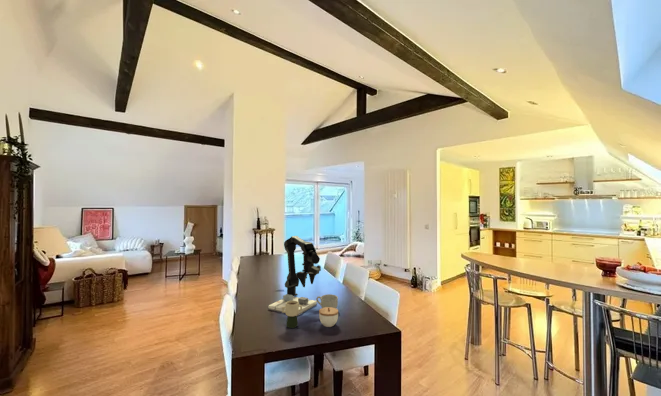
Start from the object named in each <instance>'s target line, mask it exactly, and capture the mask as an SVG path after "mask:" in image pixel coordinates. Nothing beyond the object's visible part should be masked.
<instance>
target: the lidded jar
mask: <svg viewBox="0 0 661 396" xmlns="http://www.w3.org/2000/svg"><path fill="white" fill-rule="evenodd" d="M318 317H319V321H320V323H321V325H322V326H323V327H326V328H331V327H334V326H335V325H336V323H337V322H338V318H339V309H338V308H332V307H325V308H322V307H321V308H320V309H319V310H318Z"/></svg>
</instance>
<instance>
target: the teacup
mask: <svg viewBox="0 0 661 396" xmlns="http://www.w3.org/2000/svg"><path fill="white" fill-rule="evenodd" d="M319 299H320V300H319ZM338 299H339V297H338V296H337V295H335V294H331V293H330V294H328V293H327V294H324V295H321V296H320V295H319V296H317V297H316V299H315V301H317V304H319V305H320V306H321V308H325V307H332V308H336V309H338V304H339V300H338Z"/></svg>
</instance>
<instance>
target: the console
mask: <svg viewBox="0 0 661 396" xmlns="http://www.w3.org/2000/svg"><path fill="white" fill-rule="evenodd" d="M298 298H300V297H298V296H293V300H291V301H298ZM286 302H287V301H284V300H283V298H282V299H280V300H277V301H275V302H273V303H270V304H269V305H268V310H269V311H272V312H273V311H274V312H277V313H282V307H285V306H286ZM299 305H302V304H299ZM317 305H318V302H317V301H316V299H315V300H313V299H309V298H308V303H307V304H305V305H304V304H303V305H302V311H299V313H298V315H296V316H297V317H299V316H300V315H301V314H304V313H305V312H307V311H308V310H310V309H312V308H314V307H315V306H317ZM299 310H300V307H299ZM284 311H286V308H284Z"/></svg>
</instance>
